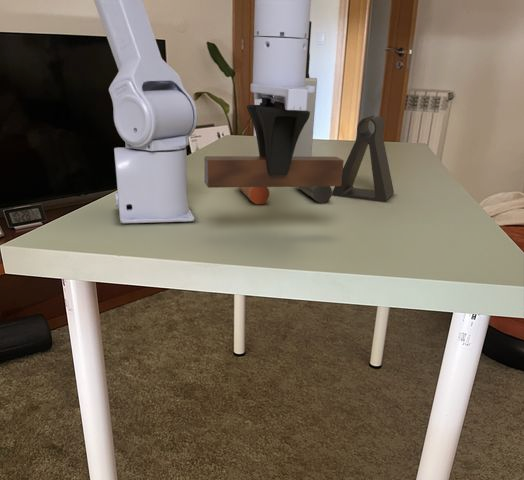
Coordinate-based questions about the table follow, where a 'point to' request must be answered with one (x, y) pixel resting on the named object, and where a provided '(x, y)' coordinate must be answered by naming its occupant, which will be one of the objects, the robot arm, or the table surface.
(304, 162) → the bar
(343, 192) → the dark grey triangle stand
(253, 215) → the table surface
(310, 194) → the rods
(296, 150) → the vintage mobile phone
